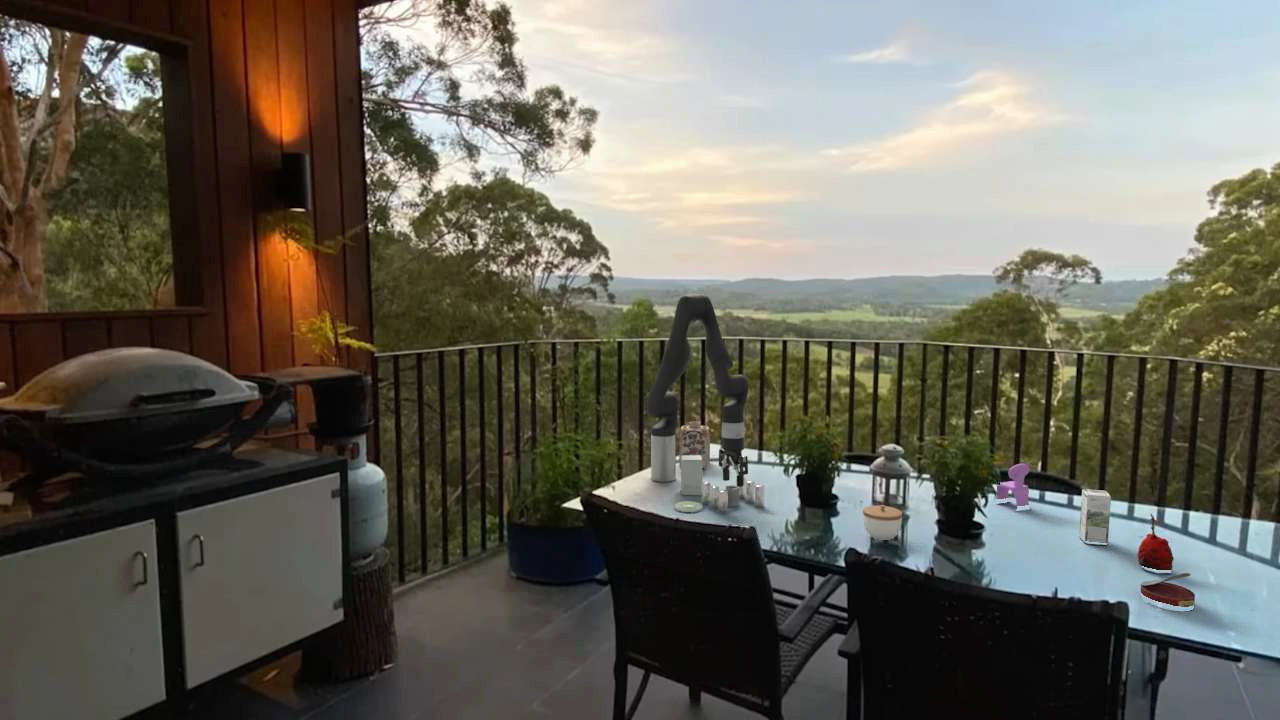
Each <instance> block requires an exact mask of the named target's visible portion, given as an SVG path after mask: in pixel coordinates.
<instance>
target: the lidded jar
mask: <svg viewBox="0 0 1280 720" xmlns="http://www.w3.org/2000/svg"><path fill="white" fill-rule="evenodd" d="M862 514H863V515H862V516H863V517H862V518H863V526H864V529H865V530H866V532H867V534H868V535H869V536H870V537H871V538H872V537H873V538H876V539H879V540H878V541H881V540H889V541H891V540H890V539H892V538H893V539H894V538H895V537H896V536H897V535H898V534H899V533H900V531H901V527H902V522H903V521H902V520H903V512H902V511H901V510H900V509H898V508H895V507H893V506H887V505H885V504H881V505H869V506H865V507H863V509H862ZM873 538H872V539H873ZM876 539H875V540H876ZM893 539H892V540H893Z"/></svg>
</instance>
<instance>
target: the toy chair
mask: <svg viewBox="0 0 1280 720" xmlns="http://www.w3.org/2000/svg"><path fill="white" fill-rule="evenodd" d="M1007 472H1008V478H1010V479H1011V480H1009V481H1003V482H1000V485H999V486H997V485H996V486H997V491H998V494H997V493H996V499H1004V498H1005V499H1006V498H1009V499H1010V496H1009V491H1011V492H1012V493H1013V495H1014V498H1015V503H1016V504H1015V507H1016V506H1025V505H1030V502H1029V493H1030V491H1029V486H1028V485H1027V484H1026V485H1025V484H1024V482H1025V477H1026V476H1027V475H1028V474H1029V473H1030V467H1029V465H1028V464H1026V463H1018V464H1015V465H1013V466H1011V467H1010V468H1009V469H1008V471H1007ZM997 491H996V492H997Z"/></svg>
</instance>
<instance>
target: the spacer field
mask: <svg viewBox="0 0 1280 720" xmlns="http://www.w3.org/2000/svg"><path fill="white" fill-rule="evenodd" d="M746 479H747V477H745V476H744V485H743V486H742V487H739V500H745V503H746V504H754V507H755V508H758V509H762V508H764V507H765V485H764V484H756V481H755V480H746ZM700 496H701V497H700V498H701V501H700V502H701V503H700V504H702V505H705V504H707V505H709V509H712V510H718V514H722V515H727V514H728V513H729V506H728V491H727V490H726V489H720V486H718V485H711V482H710V481H702V483H701V495H700Z"/></svg>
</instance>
